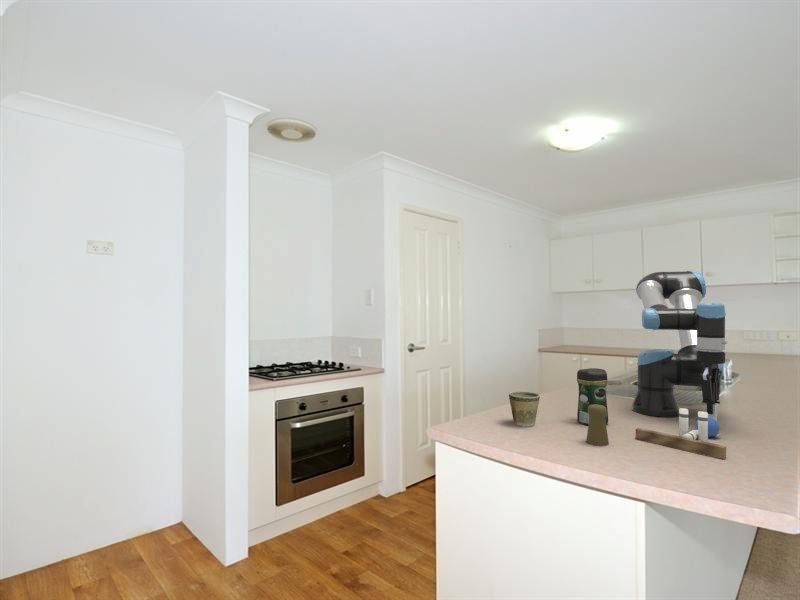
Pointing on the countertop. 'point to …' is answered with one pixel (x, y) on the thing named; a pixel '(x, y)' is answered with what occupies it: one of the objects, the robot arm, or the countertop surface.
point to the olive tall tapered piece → (597, 426)
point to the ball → (711, 427)
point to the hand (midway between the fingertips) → (711, 423)
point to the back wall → (681, 443)
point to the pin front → (691, 434)
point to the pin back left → (683, 421)
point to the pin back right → (702, 426)
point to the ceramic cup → (524, 407)
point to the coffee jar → (591, 392)
